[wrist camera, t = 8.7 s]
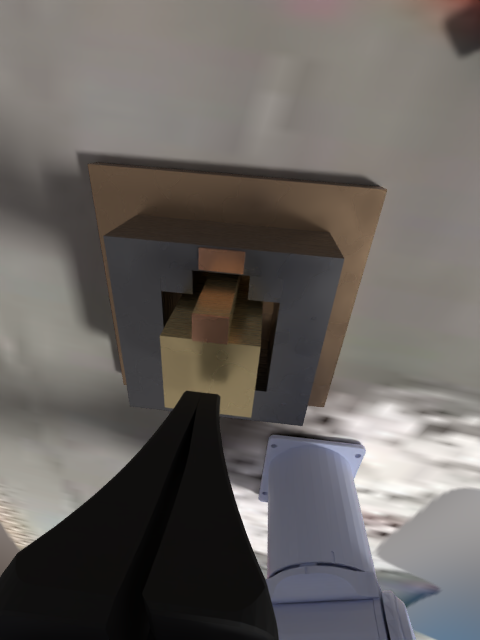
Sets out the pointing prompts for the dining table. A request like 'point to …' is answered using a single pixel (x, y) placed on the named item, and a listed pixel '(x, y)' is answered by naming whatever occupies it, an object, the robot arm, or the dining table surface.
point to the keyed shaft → (214, 343)
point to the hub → (235, 269)
